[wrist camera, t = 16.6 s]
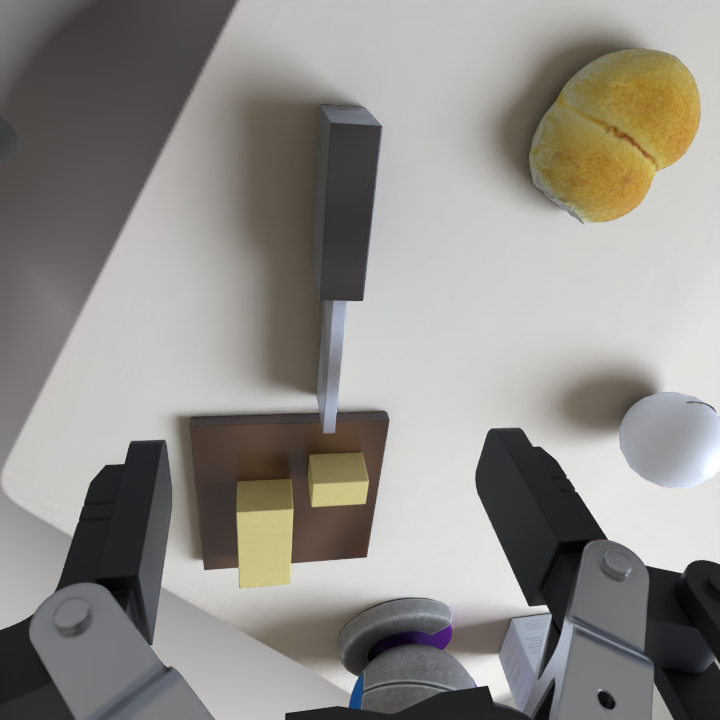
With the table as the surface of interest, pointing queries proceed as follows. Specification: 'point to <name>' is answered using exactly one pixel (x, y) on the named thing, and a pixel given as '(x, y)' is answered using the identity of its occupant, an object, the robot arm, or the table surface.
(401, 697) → the webcam
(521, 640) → the small box
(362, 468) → the butter pat
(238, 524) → the butter
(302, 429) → the board
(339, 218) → the knife
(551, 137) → the bread roll
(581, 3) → the table surface
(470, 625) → the table surface
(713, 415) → the seamed sphere
